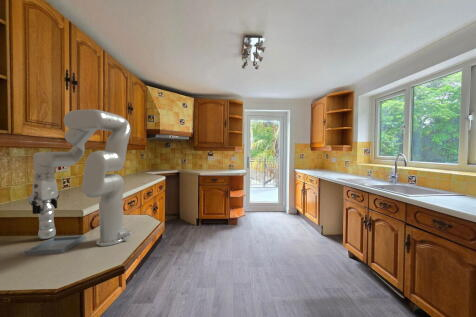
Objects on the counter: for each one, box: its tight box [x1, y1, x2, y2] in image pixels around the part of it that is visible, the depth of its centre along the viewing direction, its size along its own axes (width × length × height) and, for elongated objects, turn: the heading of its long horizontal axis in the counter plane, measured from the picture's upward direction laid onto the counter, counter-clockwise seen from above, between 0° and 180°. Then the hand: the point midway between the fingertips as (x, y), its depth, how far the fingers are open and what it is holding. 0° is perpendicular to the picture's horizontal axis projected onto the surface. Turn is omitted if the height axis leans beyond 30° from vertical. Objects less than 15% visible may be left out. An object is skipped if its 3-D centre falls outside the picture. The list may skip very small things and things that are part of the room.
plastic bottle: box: [37, 199, 57, 240], centre depth 102 cm, size 6×7×20 cm
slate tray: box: [23, 235, 87, 257], centre depth 91 cm, size 15×15×2 cm
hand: (45, 210), depth 102 cm, fingers open, 9 cm apart
